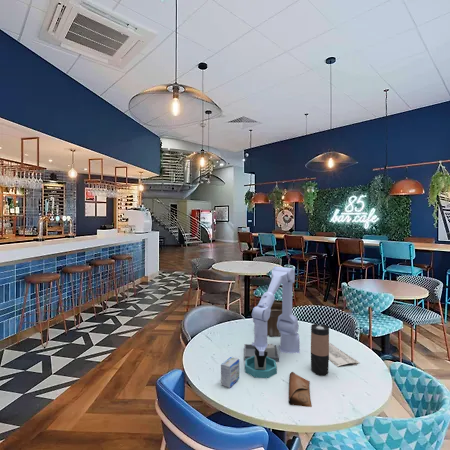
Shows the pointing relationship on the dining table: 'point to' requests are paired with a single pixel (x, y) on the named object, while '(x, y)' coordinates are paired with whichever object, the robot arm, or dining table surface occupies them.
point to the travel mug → (319, 349)
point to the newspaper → (340, 357)
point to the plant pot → (274, 320)
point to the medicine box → (230, 372)
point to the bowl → (259, 373)
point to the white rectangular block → (257, 364)
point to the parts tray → (251, 352)
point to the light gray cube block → (270, 350)
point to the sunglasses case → (299, 391)
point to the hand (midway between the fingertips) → (260, 364)
